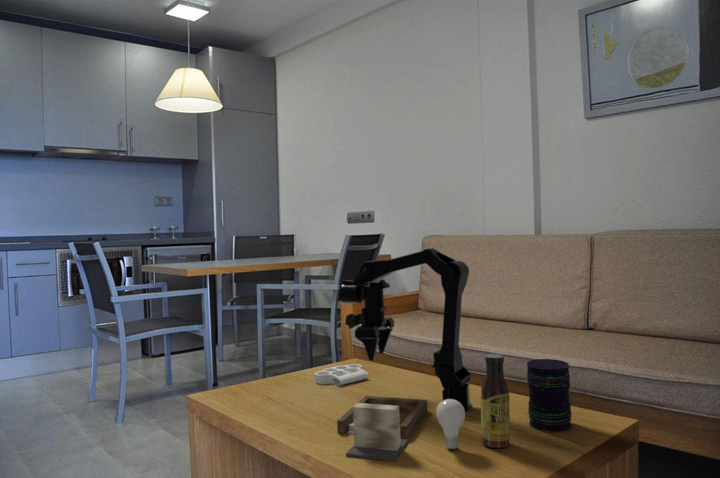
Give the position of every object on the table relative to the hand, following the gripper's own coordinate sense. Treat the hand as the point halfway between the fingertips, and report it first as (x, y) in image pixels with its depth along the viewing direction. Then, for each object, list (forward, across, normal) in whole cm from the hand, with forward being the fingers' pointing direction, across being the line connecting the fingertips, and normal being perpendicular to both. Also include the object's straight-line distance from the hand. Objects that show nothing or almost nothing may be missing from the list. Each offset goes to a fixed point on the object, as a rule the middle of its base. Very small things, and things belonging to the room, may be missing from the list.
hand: (376, 356), depth 163 cm
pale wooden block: (+11, +36, +12) cm, 40 cm away
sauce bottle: (+12, +27, +37) cm, 47 cm away
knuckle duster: (+13, -17, -18) cm, 28 cm away
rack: (+12, +19, +8) cm, 24 cm away
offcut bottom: (+13, +27, +8) cm, 31 cm away
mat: (+12, +36, +12) cm, 40 cm away
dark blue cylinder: (+12, +12, +48) cm, 51 cm away
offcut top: (+12, +27, +8) cm, 30 cm away
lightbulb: (+12, +32, +28) cm, 44 cm away
